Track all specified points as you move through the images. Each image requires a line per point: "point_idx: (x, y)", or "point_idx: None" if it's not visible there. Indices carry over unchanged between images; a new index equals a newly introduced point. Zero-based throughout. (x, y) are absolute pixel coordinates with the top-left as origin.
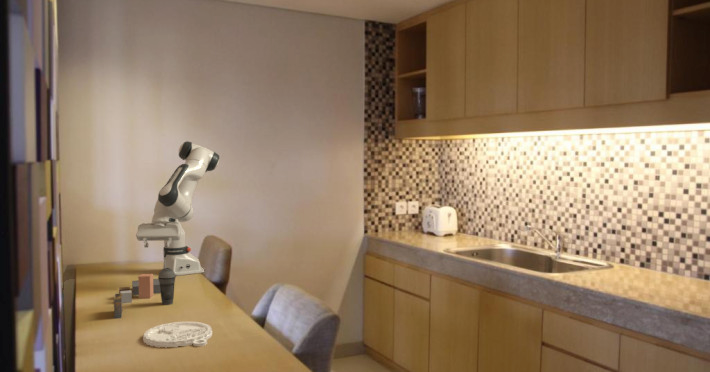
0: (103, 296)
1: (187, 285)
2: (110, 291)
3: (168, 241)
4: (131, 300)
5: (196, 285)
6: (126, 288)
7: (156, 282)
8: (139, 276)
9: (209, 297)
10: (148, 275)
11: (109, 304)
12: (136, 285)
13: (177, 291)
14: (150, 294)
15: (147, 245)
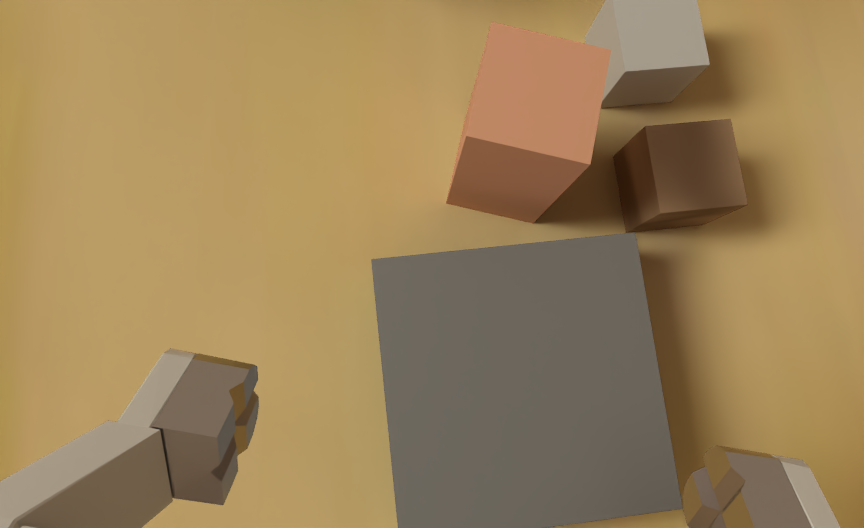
0: (828, 283)
1: None
2: (815, 450)
3: (104, 445)
4: (591, 28)
5: None
6: (677, 149)
7: (434, 358)
8: (599, 47)
9: (12, 13)
10: (509, 65)
11: (729, 31)
12: (610, 279)
13: (253, 287)
14: (466, 115)
15: (717, 448)
